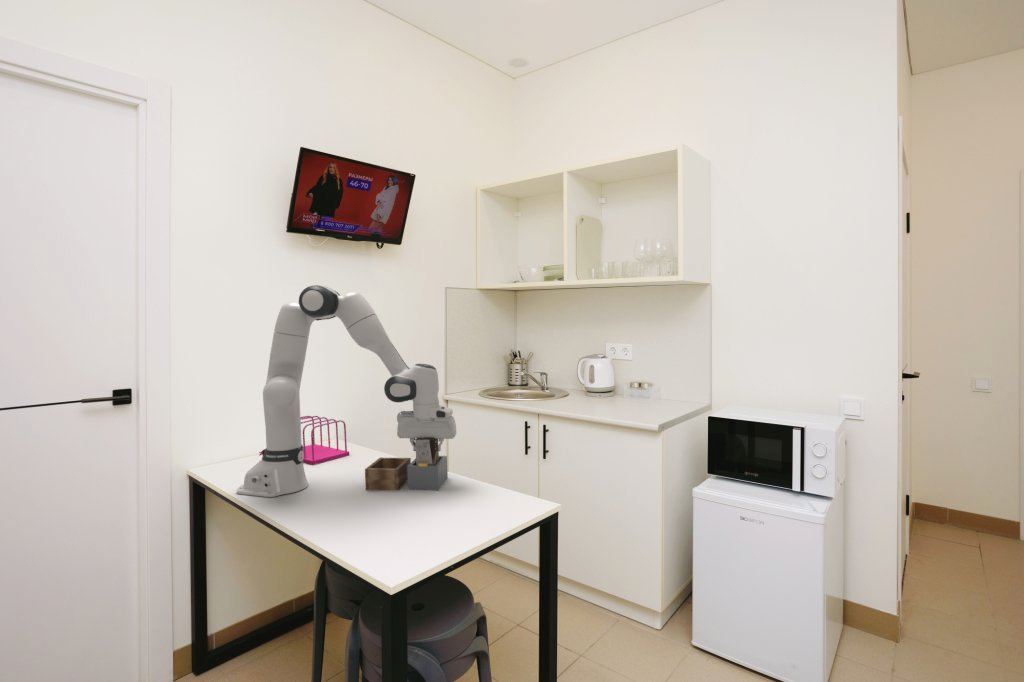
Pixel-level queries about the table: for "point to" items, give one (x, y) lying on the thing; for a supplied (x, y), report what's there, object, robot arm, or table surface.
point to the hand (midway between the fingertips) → (427, 450)
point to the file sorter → (319, 452)
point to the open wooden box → (387, 474)
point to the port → (427, 475)
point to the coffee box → (427, 451)
